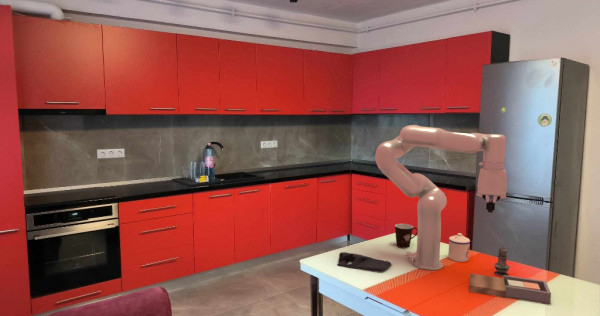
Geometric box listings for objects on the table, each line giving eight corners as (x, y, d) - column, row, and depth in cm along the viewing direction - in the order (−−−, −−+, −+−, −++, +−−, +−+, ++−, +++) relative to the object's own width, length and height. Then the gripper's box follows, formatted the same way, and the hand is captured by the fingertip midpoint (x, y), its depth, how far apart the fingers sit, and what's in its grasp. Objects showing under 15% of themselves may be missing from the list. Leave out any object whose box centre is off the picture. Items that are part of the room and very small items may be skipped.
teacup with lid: (470, 263, 180) (472, 237, 179) (448, 261, 182) (450, 235, 181) (466, 253, 192) (468, 229, 190) (446, 251, 194) (447, 228, 193)
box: (505, 297, 148) (506, 286, 148) (503, 285, 158) (503, 275, 158) (550, 304, 143) (551, 293, 142) (544, 291, 153) (545, 281, 152)
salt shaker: (511, 277, 165) (513, 248, 164) (495, 276, 166) (497, 247, 165) (506, 271, 171) (508, 244, 170) (491, 270, 172) (493, 243, 171)
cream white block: (508, 292, 150) (509, 284, 150) (506, 287, 155) (507, 279, 155) (523, 294, 149) (524, 287, 148) (521, 289, 153) (522, 281, 153)
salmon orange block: (524, 295, 149) (524, 287, 148) (521, 289, 153) (522, 281, 153) (539, 297, 147) (540, 289, 147) (536, 291, 152) (537, 283, 151)
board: (469, 291, 152) (470, 285, 152) (469, 279, 163) (470, 273, 163) (505, 297, 148) (506, 291, 147) (503, 284, 159) (503, 278, 158)
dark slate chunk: (382, 276, 166) (383, 265, 166) (333, 266, 177) (334, 255, 176) (394, 264, 179) (394, 254, 179) (347, 255, 190) (348, 245, 190)
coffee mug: (394, 248, 198) (395, 228, 197) (393, 242, 207) (394, 223, 206) (419, 249, 197) (420, 229, 195) (417, 243, 205) (418, 224, 204)
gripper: (472, 166, 159) (469, 212, 162) (515, 168, 154) (512, 216, 156) (472, 163, 166) (469, 207, 168) (513, 165, 160) (510, 211, 163)
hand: (490, 211), depth 162 cm, fingers closed
